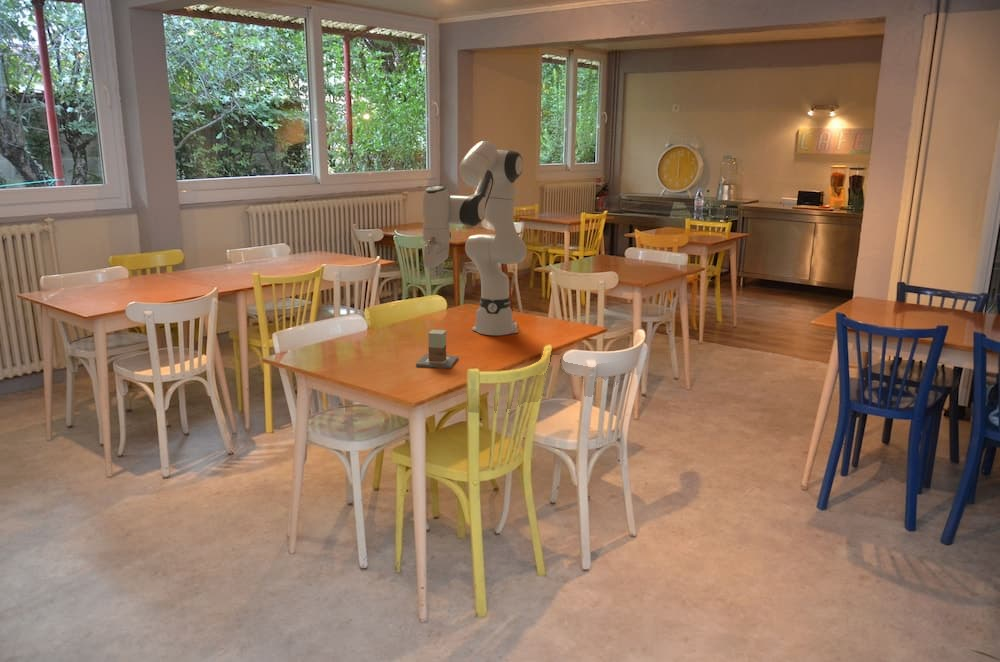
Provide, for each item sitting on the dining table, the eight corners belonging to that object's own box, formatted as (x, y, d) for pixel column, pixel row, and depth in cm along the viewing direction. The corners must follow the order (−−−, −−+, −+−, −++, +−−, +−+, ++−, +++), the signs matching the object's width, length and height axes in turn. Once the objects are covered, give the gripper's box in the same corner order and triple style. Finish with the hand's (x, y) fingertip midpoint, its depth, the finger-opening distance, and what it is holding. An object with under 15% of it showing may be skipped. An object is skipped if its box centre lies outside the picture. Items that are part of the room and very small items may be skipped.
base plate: (425, 356, 279) (425, 353, 279) (458, 358, 277) (458, 355, 277) (416, 366, 267) (416, 363, 267) (450, 368, 265) (450, 365, 265)
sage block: (432, 343, 273) (432, 329, 272) (446, 344, 273) (446, 330, 271) (428, 347, 269) (428, 333, 267) (442, 348, 268) (442, 334, 267)
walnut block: (432, 357, 275) (432, 343, 273) (446, 357, 274) (446, 344, 273) (428, 361, 270) (428, 347, 269) (442, 362, 269) (442, 348, 268)
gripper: (437, 240, 250) (438, 283, 254) (452, 232, 270) (452, 271, 274) (418, 239, 251) (419, 282, 255) (434, 231, 271) (434, 270, 275)
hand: (436, 276), depth 264 cm, fingers open, 8 cm apart
